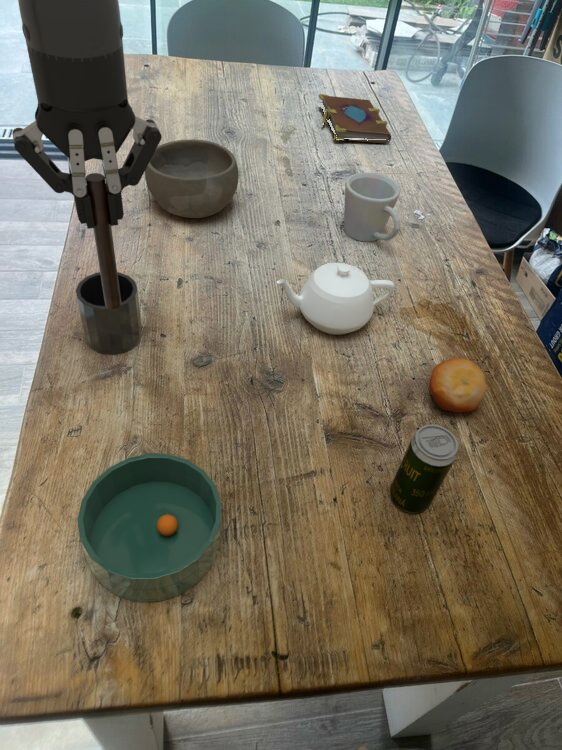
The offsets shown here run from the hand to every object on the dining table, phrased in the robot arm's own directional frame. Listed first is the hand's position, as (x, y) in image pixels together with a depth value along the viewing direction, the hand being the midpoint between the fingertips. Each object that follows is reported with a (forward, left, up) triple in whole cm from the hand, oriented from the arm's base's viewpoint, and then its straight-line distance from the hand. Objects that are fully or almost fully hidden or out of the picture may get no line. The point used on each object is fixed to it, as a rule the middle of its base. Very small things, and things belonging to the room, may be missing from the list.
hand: (101, 222), depth 60 cm
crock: (0, +14, -29) cm, 32 cm away
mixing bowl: (-1, -21, -29) cm, 36 cm away
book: (+70, +79, -29) cm, 110 cm away
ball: (+1, -21, -27) cm, 34 cm away
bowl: (+21, +48, -29) cm, 60 cm away
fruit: (+45, -12, -29) cm, 55 cm away
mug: (+52, +30, -29) cm, 67 cm away
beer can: (+31, -25, -29) cm, 49 cm away
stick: (0, 0, -11) cm, 11 cm away
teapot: (+35, +10, -29) cm, 47 cm away
